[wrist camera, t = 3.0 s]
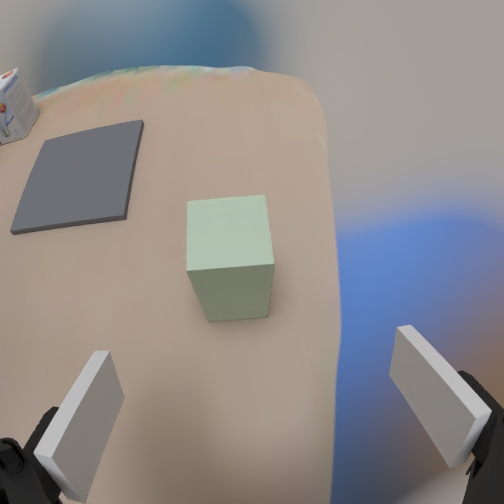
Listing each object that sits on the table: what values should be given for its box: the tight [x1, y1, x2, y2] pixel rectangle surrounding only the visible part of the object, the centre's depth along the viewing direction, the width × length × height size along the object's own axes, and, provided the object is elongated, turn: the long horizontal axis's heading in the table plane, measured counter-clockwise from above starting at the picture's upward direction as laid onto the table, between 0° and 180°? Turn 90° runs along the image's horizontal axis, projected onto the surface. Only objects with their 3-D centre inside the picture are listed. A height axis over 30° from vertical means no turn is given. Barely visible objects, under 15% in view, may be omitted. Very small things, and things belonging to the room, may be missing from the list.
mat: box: [10, 120, 144, 235], centre depth 36 cm, size 16×16×1 cm
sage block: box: [187, 195, 274, 322], centre depth 24 cm, size 5×5×10 cm
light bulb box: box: [0, 68, 40, 145], centre depth 38 cm, size 11×7×11 cm, turn 93°
